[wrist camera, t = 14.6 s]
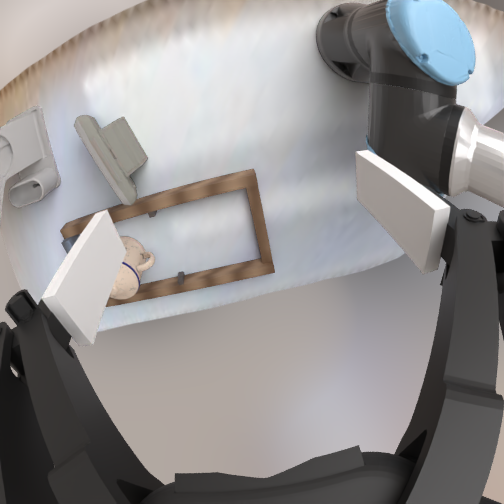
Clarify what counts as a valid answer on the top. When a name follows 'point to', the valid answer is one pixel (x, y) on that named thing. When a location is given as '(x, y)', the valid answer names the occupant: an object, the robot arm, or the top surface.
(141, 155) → the digital clock
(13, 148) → the phone holder
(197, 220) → the top surface
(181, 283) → the open rectangular wooden frame
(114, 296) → the teacup with lid
